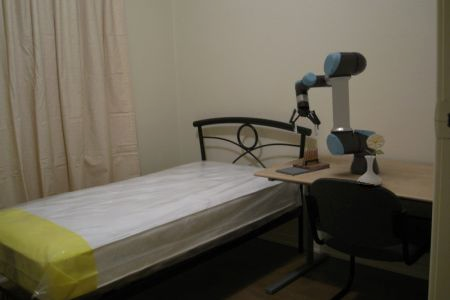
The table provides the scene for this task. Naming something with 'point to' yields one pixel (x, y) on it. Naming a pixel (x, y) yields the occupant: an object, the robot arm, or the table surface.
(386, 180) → the table surface
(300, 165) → the walnut caddy
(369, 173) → the flower in vase
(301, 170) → the slate mat
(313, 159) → the ammunition clip
